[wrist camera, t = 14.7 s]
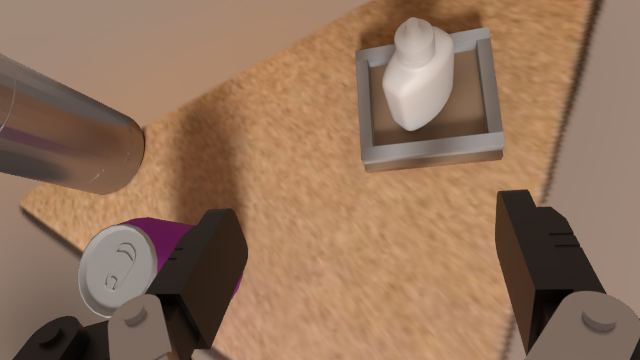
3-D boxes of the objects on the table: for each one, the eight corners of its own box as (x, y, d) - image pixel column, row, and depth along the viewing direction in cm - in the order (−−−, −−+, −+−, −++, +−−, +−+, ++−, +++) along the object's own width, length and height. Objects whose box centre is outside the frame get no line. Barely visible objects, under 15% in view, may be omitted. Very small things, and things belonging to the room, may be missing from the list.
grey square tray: (367, 172, 36) (361, 165, 34) (361, 60, 39) (355, 45, 36) (501, 159, 33) (505, 150, 31) (484, 38, 36) (487, 21, 33)
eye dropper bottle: (383, 94, 36) (355, 13, 25) (445, 68, 35) (445, -29, 24) (400, 137, 35) (378, 73, 24) (465, 112, 34) (475, 32, 22)
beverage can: (225, 328, 37) (129, 352, 26) (163, 290, 40) (51, 297, 28) (260, 249, 38) (182, 240, 26) (196, 217, 40) (100, 196, 29)
